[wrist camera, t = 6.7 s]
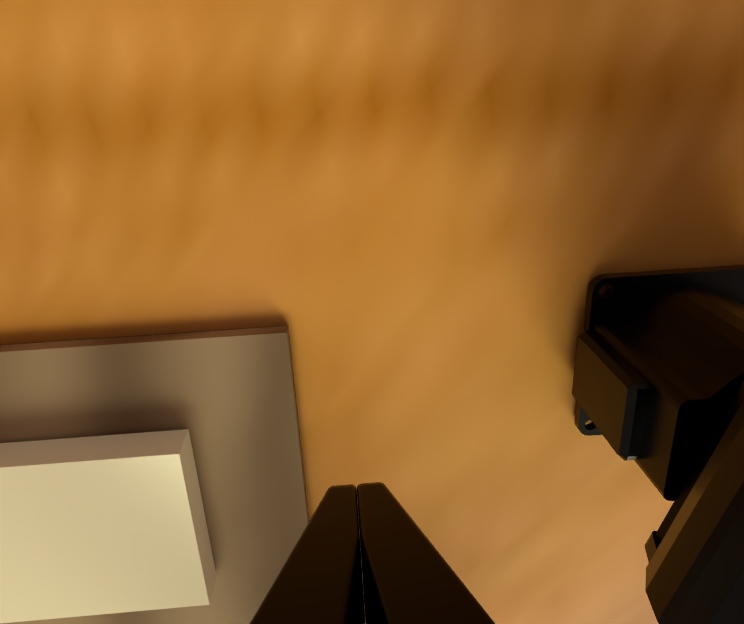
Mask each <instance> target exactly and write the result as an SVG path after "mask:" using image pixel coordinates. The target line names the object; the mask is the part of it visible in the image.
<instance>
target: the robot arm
mask: <svg viewBox="0 0 744 624" xmlns="http://www.w3.org/2000/svg"><path fill="white" fill-rule="evenodd" d="M607 284H608V286H609V288H608V290H607V291H606V292H605V293H603V294H600V293H599V291H600V289H601V287H603V286H604V285H607ZM572 395H573V396H574V398H575V399H576V410H575V419H574V420H575V425H576V426H577V428H578V429H579V430H580V432H581V433H582V434H584V435H603V436H604V437H605V439H606V440H607V441H608V443H609V444H610V445H611V447H612V448H613V449H614V451H615V452H616V453H617V454H618V455H619V456H620V457H621V458H622V459H624V460H635V462H636V463H637V464H638V465H639V467H640V468H641V469H642V470H643V472H644V473H645V474H646V475H647V477H648V478H649V479H650V481H651V482H652V483H653V484H654V486H655V487H656V488H657V489H658V491H659V492H660V493H661V494H662V496H663V497H664V498H665V499H666V500H669V501H674V503H673V505H672V506H671V508H670V510H669V512H668V513H667V515H666V517H665V519H664V520H663V522H662V524H661V526H660V527H659V529H658V531H653V532H652V534H651V535H650V537H649V539H648V541H647V542H646V544H645V549H646V553H647V557H648V561H649V564H648V566H647V567H646V593H647V596H648V598H649V601H650V603H651V606H652V608H653V611H654V614H655V616H656V619H657V621H658V623H659V624H744V265H737V266H722V267H707V268H691V269H676V270H660V271H645V272H630V273H614V274H602V275H598V276H596V277H595V278H593V279H592V281H591V282H590V283H589V286H588V292H587V302H586V312H585V322H584V331H582V332H581V333H580V335H579V336H578V338H577V347H576V358H575V368H574V378H573V388H572ZM590 419H591V420H592V422H591V423H590V424H587V425H586V424H585V423H586V422H587V421H588V420H590ZM357 500H358V504H357ZM358 515H359V519H358ZM359 530H360V534H359ZM360 545H361V549H360ZM361 560H362V565H361ZM362 575H363V580H362ZM363 590H364V595H363ZM364 605H365V610H364ZM365 620H366V624H495V623H494V621H493V620H492V619H491V618H490V616H489V615H488V614H487V613H486V611H485V610H484V609H483V608H482V606H481V605H480V604H479V603H478V601H477V600H476V599H475V598H474V596H473V595H472V594H471V593H470V591H469V590H468V589H467V588H466V586H465V585H464V584H463V582H462V581H461V580H460V579H459V577H458V576H457V575H456V574H455V572H454V571H453V570H452V569H451V567H450V566H449V565H448V564H447V562H446V561H445V560H444V559H443V557H442V556H441V555H440V554H439V552H438V551H437V550H436V549H435V547H434V546H433V545H432V544H431V542H430V541H429V540H428V539H427V537H426V536H425V535H424V533H423V532H422V531H421V530H420V528H419V527H418V526H417V525H416V523H415V522H414V521H413V520H412V518H411V517H410V516H409V515H408V513H407V512H406V511H405V510H404V508H403V507H402V506H401V505H400V503H399V502H398V501H397V500H396V498H395V497H394V496H393V495H392V493H391V492H390V491H389V489H388V488H387V487H386V486H385V485H384V484H383V483H381V482H376V483H363V484H359V485H358V486H357V490H356V487H355V486H354V485H352V484H351V485H338V486H331V487H330V488H329V489H328V490H327V492H326V494H325V495H324V497H323V499H322V501H321V502H320V504H319V506H318V507H317V509H316V511H315V513H314V514H313V516H312V518H311V519H310V521H309V523H308V524H307V526H306V528H305V530H304V531H303V533H302V535H301V536H300V538H299V540H298V542H297V543H296V545H295V547H294V548H293V550H292V552H291V553H290V555H289V557H288V559H287V560H286V562H285V564H284V565H283V567H282V569H281V571H280V572H279V574H278V576H277V577H276V579H275V581H274V582H273V584H272V586H271V588H270V589H269V591H268V593H267V594H266V596H265V598H264V600H263V601H262V603H261V605H260V606H259V608H258V610H257V611H256V613H255V615H254V617H253V618H252V620H251V622H250V623H249V624H365Z"/></svg>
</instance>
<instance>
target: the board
mask: <svg viewBox="0 0 744 624" xmlns="http://www.w3.org/2000/svg"><path fill="white" fill-rule="evenodd" d="M184 429H189V434H190V439H191V445H192V450H193V455H194V460H195V465H196V471H197V476H198V481H199V486H200V492H201V497H202V502H203V507H204V513H205V518H206V523H207V528H208V533H209V539H210V544H211V549H212V554H213V560H214V565H215V570H216V578H215V582H214V587H213V591H212V596H211V600H210V605H202V606H191V607H180V608H168V609H157V610H146V611H135V612H124V613H112V614H101V615H90V616H79V617H68V618H56V619H45V620H34V621H23V622H12V623H0V624H249V623H250V622H251V620H252V618H253V617H254V615H255V613H256V611H257V610H258V608H259V606H260V605H261V603H262V601H263V600H264V598H265V596H266V594H267V593H268V591H269V589H270V588H271V586H272V584H273V582H274V581H275V579H276V577H277V576H278V574H279V572H280V571H281V569H282V567H283V565H284V564H285V562H286V560H287V559H288V557H289V555H290V553H291V552H292V550H293V548H294V547H295V545H296V543H297V542H298V540H299V538H300V536H301V535H302V533H303V531H304V530H305V528H306V526H307V524H308V523H309V516H308V506H307V497H306V488H305V478H304V469H303V460H302V450H301V441H300V432H299V422H298V413H297V403H296V394H295V385H294V375H293V366H292V357H291V347H290V338H289V329H288V326H277V327H262V328H247V329H233V330H218V331H203V332H188V333H173V334H158V335H144V336H129V337H114V338H99V339H84V340H69V341H55V342H40V343H25V344H10V345H0V443H11V442H25V441H38V440H51V439H64V438H78V437H91V436H104V435H118V434H131V433H144V432H158V431H171V430H184Z"/></svg>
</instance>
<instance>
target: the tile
mask: <svg viewBox="0 0 744 624" xmlns="http://www.w3.org/2000/svg"><path fill="white" fill-rule="evenodd" d="M215 578H216V570H215V565H214V560H213V554H212V549H211V544H210V539H209V533H208V528H207V523H206V518H205V513H204V507H203V502H202V497H201V492H200V486H199V481H198V476H197V471H196V465H195V460H194V455H193V450H192V445H191V439H190V434H189V429H184V430H171V431H158V432H144V433H131V434H118V435H104V436H91V437H78V438H64V439H51V440H38V441H25V442H11V443H0V623H12V622H23V621H34V620H45V619H56V618H68V617H79V616H90V615H101V614H112V613H124V612H135V611H146V610H157V609H168V608H180V607H191V606H202V605H210V600H211V596H212V591H213V587H214V582H215Z"/></svg>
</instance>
